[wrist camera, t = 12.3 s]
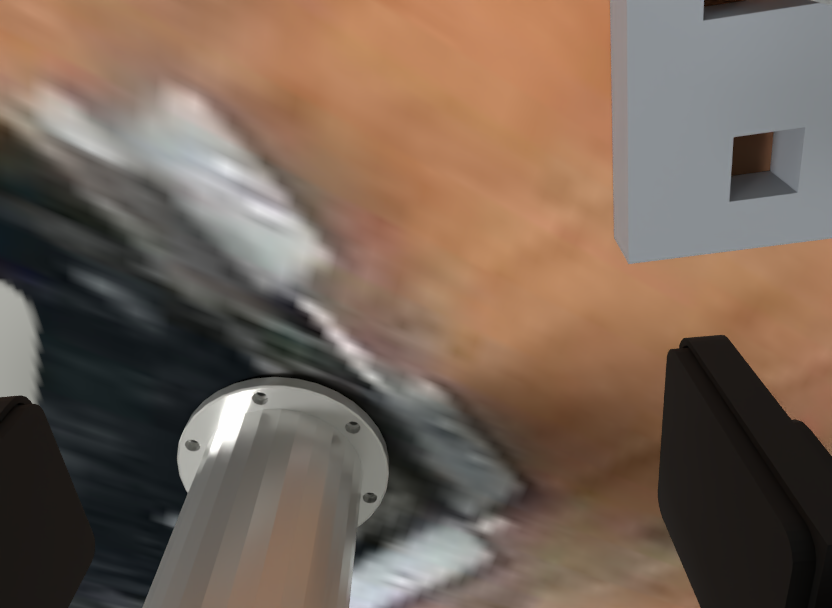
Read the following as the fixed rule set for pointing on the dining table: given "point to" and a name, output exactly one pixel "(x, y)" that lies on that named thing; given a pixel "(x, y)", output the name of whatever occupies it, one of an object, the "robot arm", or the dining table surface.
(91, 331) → the dining table surface
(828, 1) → the cylinder
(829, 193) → the grey hole board
